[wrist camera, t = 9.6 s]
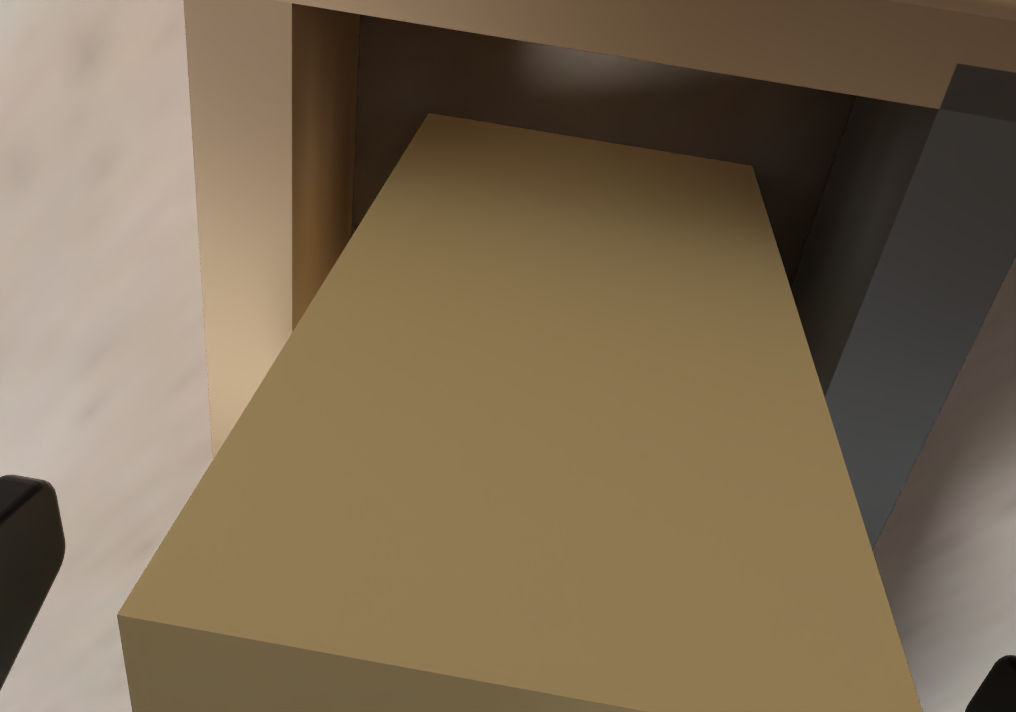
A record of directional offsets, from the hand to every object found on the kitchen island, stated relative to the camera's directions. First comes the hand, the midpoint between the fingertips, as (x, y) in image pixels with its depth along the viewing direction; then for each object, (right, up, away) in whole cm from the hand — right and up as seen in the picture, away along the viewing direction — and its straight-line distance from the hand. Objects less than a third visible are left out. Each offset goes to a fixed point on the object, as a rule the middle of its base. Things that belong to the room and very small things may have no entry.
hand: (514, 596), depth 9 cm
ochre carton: (+1, +2, +4) cm, 5 cm away
